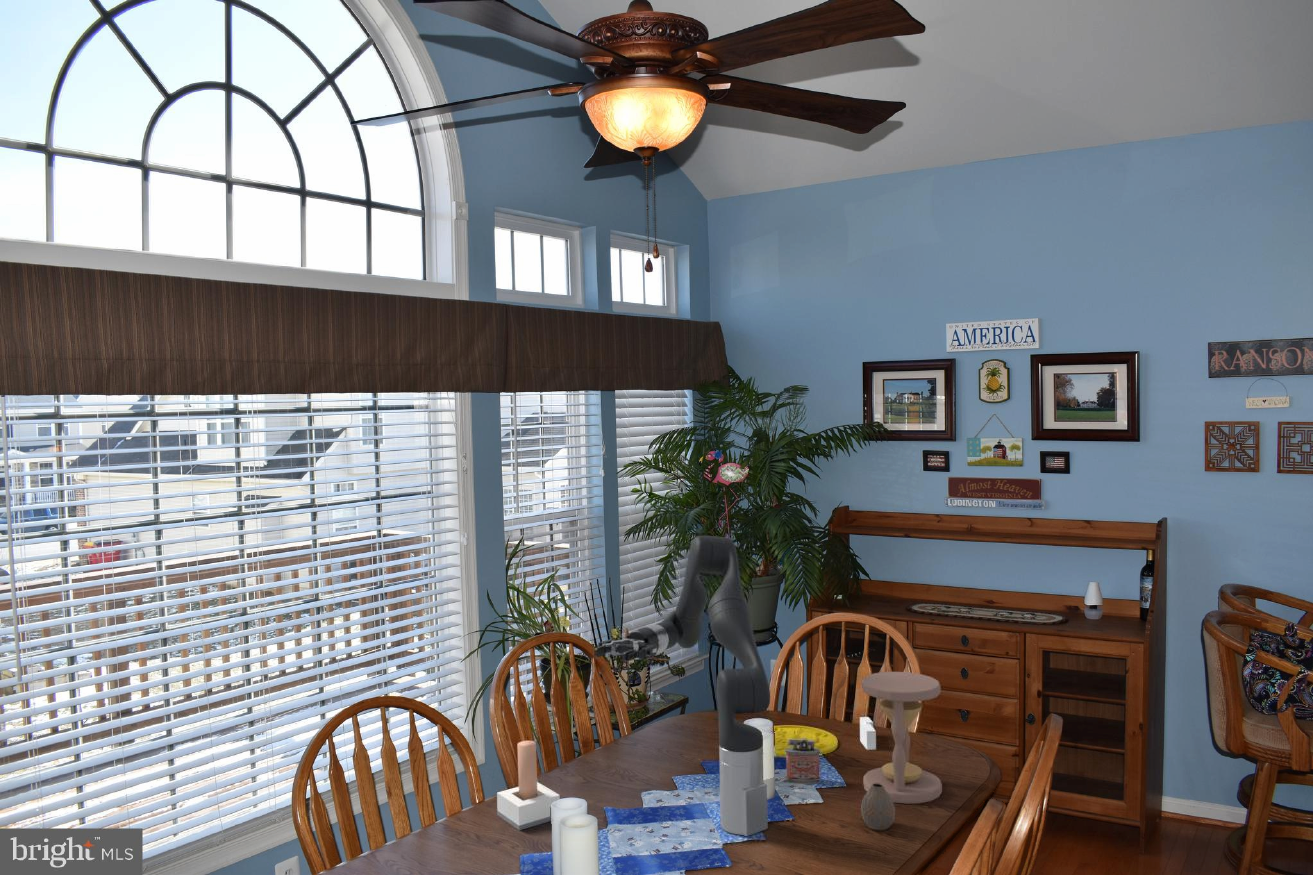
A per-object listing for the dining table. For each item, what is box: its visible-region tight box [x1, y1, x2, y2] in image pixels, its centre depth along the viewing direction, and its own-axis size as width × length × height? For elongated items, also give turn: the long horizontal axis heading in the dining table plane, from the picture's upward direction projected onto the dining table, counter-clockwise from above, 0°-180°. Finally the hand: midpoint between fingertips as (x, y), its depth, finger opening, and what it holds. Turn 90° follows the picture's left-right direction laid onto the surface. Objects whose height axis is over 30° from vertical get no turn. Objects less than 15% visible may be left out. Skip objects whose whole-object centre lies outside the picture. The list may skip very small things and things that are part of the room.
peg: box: [516, 740, 538, 801], centre depth 209 cm, size 4×4×15 cm
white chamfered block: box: [859, 716, 877, 751], centre depth 253 cm, size 15×11×6 cm
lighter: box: [785, 738, 821, 785], centre depth 227 cm, size 8×3×10 cm, turn 84°
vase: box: [860, 783, 896, 831], centre depth 201 cm, size 7×7×9 cm
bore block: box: [496, 781, 561, 831], centre depth 209 cm, size 10×10×5 cm
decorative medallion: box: [773, 724, 839, 757], centre depth 254 cm, size 24×24×2 cm
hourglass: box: [861, 671, 943, 805], centre depth 221 cm, size 18×18×25 cm
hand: (609, 655), depth 229 cm, fingers open, 8 cm apart
